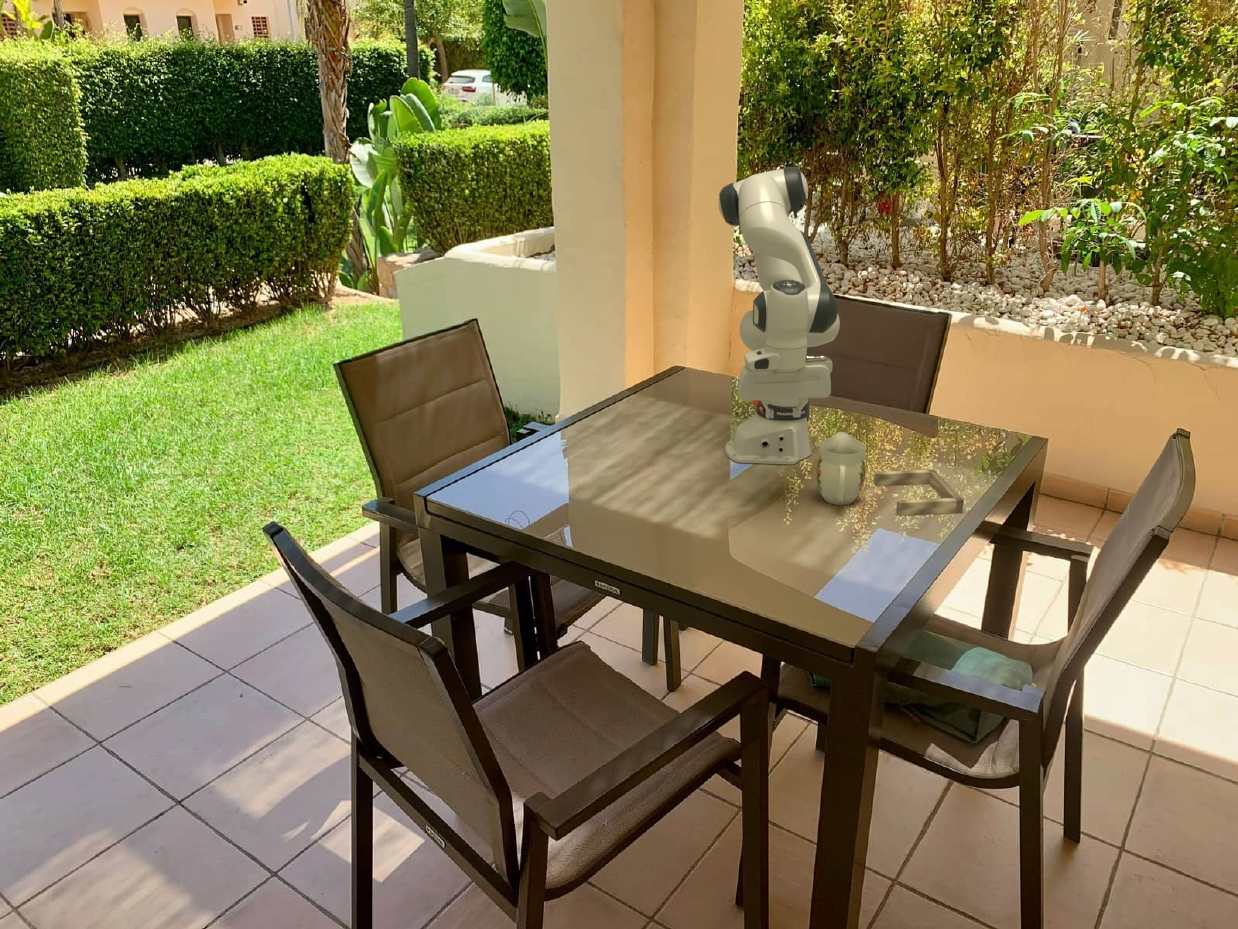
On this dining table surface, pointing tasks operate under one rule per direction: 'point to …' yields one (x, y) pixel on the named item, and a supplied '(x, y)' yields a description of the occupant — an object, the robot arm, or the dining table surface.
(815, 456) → the dining table surface
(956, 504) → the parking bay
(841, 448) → the pitcher
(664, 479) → the dining table surface
